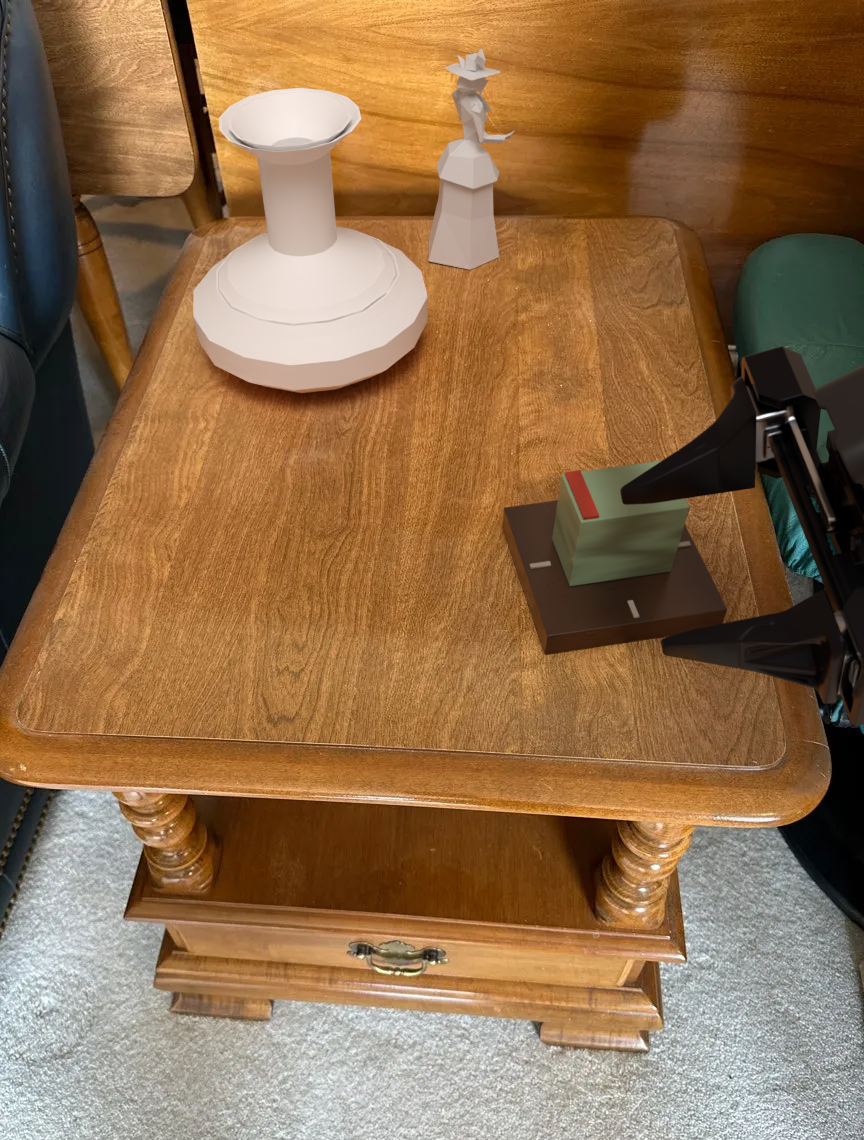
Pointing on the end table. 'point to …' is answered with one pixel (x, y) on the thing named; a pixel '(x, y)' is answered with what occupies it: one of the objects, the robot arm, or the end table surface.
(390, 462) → the end table surface
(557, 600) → the plate
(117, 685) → the end table surface
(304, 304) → the white vase
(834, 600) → the robot arm
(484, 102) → the figurine
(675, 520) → the box
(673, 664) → the end table surface
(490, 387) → the end table surface
